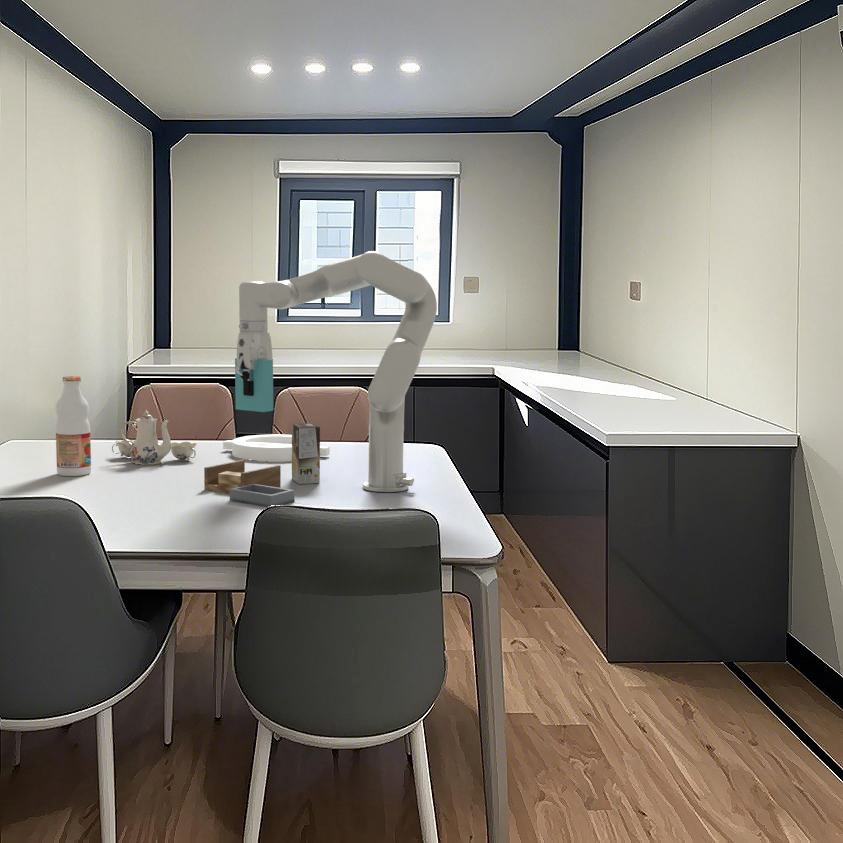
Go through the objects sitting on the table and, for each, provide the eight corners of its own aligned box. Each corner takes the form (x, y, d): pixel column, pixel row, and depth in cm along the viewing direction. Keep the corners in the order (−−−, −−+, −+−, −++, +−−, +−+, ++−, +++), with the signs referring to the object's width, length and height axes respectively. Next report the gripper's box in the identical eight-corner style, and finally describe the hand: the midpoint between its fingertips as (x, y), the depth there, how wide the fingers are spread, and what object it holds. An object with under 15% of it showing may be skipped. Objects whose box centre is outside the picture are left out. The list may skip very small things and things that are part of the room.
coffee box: (320, 483, 298) (321, 426, 295) (298, 484, 295) (298, 427, 293) (312, 477, 306) (312, 422, 304) (290, 478, 304) (290, 423, 302)
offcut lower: (248, 492, 286) (248, 483, 285) (238, 494, 282) (237, 485, 282) (228, 489, 289) (228, 480, 289) (218, 491, 286) (218, 482, 286)
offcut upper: (248, 482, 286) (248, 473, 286) (240, 485, 282) (240, 476, 282) (226, 480, 289) (226, 471, 288) (218, 482, 285) (218, 473, 285)
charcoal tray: (294, 501, 273) (294, 490, 273) (271, 507, 266) (271, 495, 265) (253, 494, 280) (253, 483, 280) (229, 500, 273) (229, 489, 272)
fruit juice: (53, 472, 306) (50, 375, 302) (85, 469, 311) (83, 374, 308) (61, 478, 298) (59, 378, 295) (95, 475, 304) (93, 377, 300)
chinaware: (203, 463, 335) (204, 410, 334) (187, 467, 318) (188, 412, 318) (116, 460, 337) (117, 408, 337) (96, 464, 321) (97, 409, 320)
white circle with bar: (333, 459, 340) (333, 444, 339) (250, 465, 326) (250, 449, 325) (298, 446, 364) (298, 432, 363) (220, 451, 350) (220, 437, 349)
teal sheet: (273, 410, 289) (272, 359, 287) (263, 412, 285) (263, 360, 284) (245, 407, 294) (244, 357, 292) (235, 409, 291) (235, 358, 289)
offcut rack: (280, 486, 291) (280, 465, 291) (243, 495, 279) (243, 473, 278) (241, 481, 299) (241, 460, 298) (204, 489, 286) (204, 467, 285)
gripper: (243, 329, 278) (244, 398, 280) (284, 326, 292) (284, 393, 294) (221, 328, 282) (222, 396, 284) (263, 326, 296) (263, 391, 298)
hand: (254, 394), depth 289 cm, fingers closed on teal sheet, 4 cm apart
